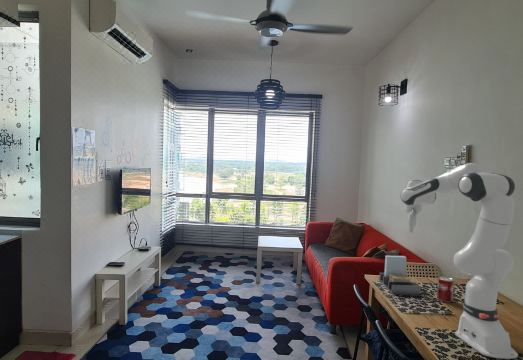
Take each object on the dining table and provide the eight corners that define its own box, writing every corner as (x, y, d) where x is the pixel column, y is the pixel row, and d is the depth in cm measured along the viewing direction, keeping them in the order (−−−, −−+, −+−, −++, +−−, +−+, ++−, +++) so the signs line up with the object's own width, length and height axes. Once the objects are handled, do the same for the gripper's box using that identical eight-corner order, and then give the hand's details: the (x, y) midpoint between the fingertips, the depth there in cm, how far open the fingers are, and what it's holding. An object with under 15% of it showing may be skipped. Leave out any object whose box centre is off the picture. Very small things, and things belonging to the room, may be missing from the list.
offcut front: (409, 288, 181) (410, 278, 181) (392, 287, 181) (393, 277, 181) (407, 286, 184) (408, 277, 183) (391, 286, 184) (391, 276, 184)
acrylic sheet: (404, 282, 190) (406, 257, 189) (385, 281, 190) (386, 256, 189) (403, 281, 193) (404, 256, 192) (384, 280, 193) (385, 255, 192)
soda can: (448, 297, 173) (449, 276, 172) (454, 303, 166) (456, 281, 165) (434, 296, 174) (436, 275, 173) (440, 302, 166) (442, 280, 166)
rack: (420, 295, 175) (420, 286, 175) (391, 293, 175) (392, 285, 175) (403, 280, 197) (403, 272, 196) (378, 279, 197) (378, 271, 197)
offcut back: (407, 285, 185) (407, 276, 184) (390, 285, 185) (390, 275, 185) (405, 284, 187) (405, 274, 187) (388, 283, 188) (389, 274, 187)
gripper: (419, 210, 169) (417, 235, 170) (418, 205, 187) (416, 227, 189) (407, 209, 172) (405, 233, 173) (407, 204, 190) (405, 225, 191)
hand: (411, 230), depth 181 cm, fingers open, 8 cm apart
